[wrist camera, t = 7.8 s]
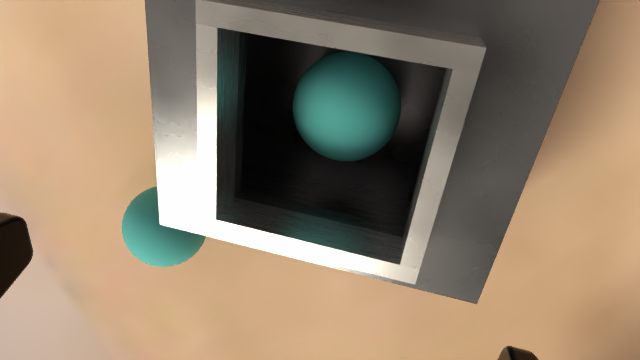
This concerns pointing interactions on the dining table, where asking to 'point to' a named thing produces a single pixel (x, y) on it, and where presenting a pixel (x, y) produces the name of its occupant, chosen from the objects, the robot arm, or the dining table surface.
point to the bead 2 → (346, 106)
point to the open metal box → (381, 167)
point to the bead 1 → (156, 234)
